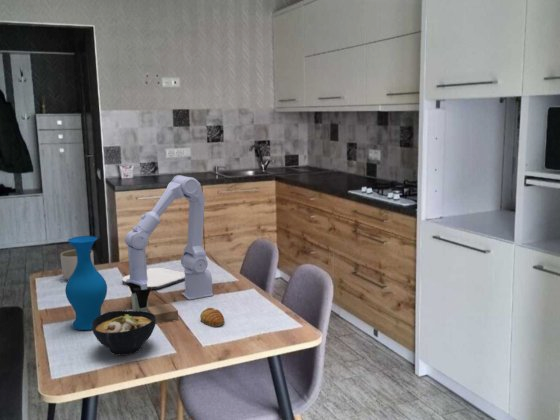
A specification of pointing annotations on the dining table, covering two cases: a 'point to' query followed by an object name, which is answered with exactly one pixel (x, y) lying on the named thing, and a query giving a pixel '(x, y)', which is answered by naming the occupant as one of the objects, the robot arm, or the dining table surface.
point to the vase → (85, 285)
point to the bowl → (123, 330)
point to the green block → (136, 303)
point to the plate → (160, 277)
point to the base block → (163, 313)
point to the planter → (70, 262)
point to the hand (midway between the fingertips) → (140, 304)
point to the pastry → (212, 317)
